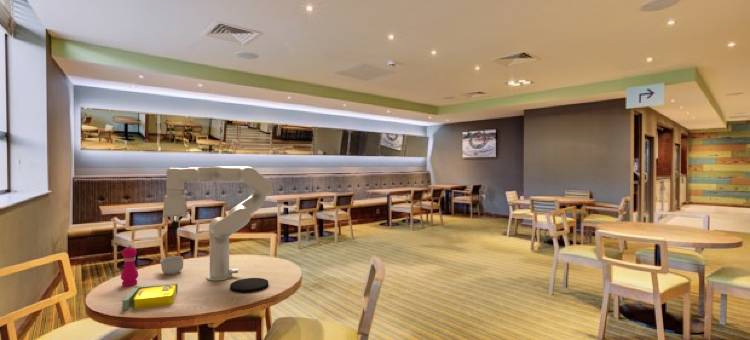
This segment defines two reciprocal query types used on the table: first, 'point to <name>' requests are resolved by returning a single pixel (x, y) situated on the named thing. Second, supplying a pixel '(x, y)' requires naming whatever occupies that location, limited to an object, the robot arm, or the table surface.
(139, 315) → the table surface
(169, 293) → the element tile
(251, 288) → the wireless charger
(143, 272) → the table surface
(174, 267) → the teacup
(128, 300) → the corner stop
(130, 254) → the pepper mill
